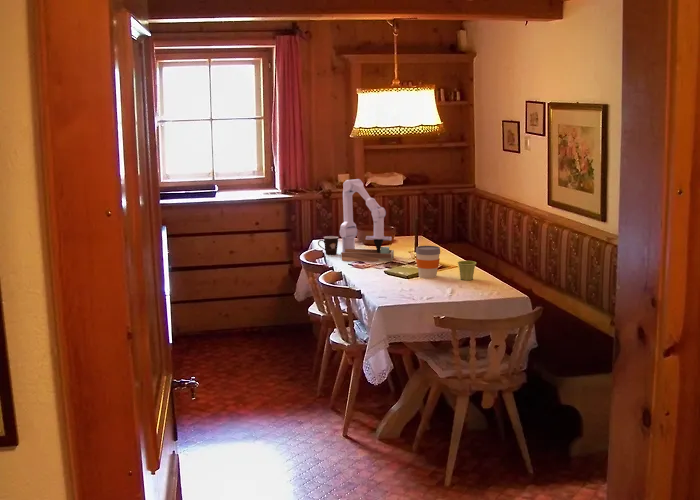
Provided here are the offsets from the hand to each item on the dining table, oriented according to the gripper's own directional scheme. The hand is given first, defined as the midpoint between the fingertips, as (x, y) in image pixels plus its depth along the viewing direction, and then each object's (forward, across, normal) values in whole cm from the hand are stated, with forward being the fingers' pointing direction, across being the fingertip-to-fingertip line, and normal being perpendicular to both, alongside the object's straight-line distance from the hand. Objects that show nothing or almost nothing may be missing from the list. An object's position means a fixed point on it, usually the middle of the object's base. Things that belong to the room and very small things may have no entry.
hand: (378, 252), depth 486 cm
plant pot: (+4, +51, -49) cm, 71 cm away
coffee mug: (+4, -31, +9) cm, 32 cm away
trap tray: (+3, -6, -3) cm, 7 cm away
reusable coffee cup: (+4, +31, -45) cm, 55 cm away
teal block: (+1, +4, 0) cm, 4 cm away
